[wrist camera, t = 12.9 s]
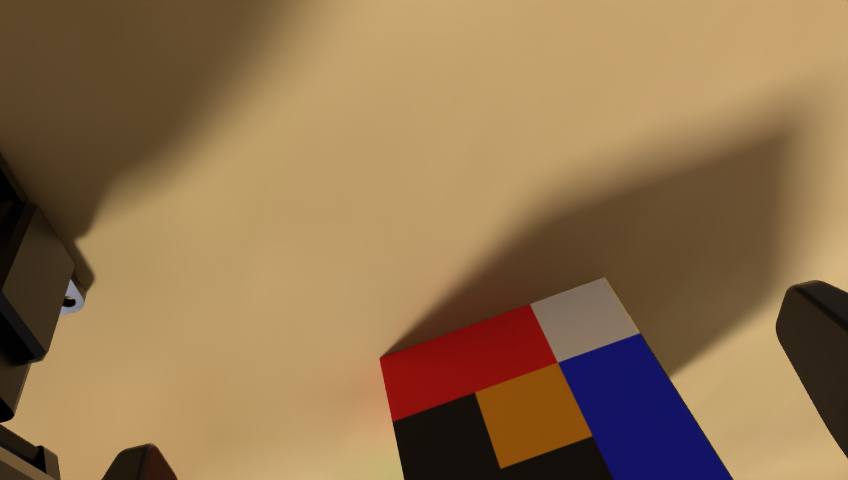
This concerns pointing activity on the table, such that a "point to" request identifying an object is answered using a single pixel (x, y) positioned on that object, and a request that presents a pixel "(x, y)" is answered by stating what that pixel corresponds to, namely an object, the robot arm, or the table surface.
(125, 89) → the table surface
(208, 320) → the table surface
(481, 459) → the puzzle toy
